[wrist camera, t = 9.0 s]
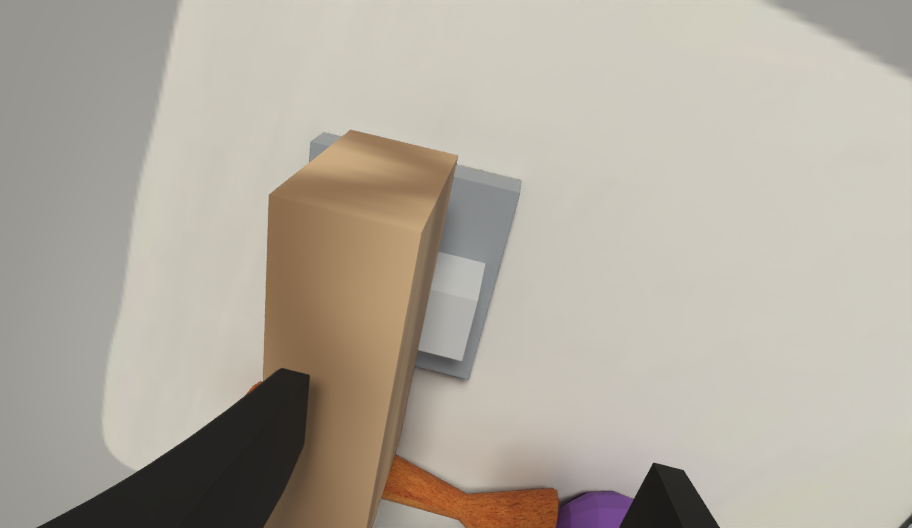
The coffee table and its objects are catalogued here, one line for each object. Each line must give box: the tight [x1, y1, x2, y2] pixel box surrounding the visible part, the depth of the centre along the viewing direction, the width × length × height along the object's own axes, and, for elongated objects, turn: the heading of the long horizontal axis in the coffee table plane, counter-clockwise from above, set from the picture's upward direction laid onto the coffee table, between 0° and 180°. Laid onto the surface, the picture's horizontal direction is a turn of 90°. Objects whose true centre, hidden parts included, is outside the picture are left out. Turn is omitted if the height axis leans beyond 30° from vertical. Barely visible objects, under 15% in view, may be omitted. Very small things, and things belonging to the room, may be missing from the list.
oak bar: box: [263, 130, 458, 528], centre depth 15 cm, size 3×11×5 cm, turn 168°
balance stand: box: [309, 133, 521, 379], centre depth 19 cm, size 7×8×4 cm
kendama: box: [246, 381, 634, 528], centre depth 23 cm, size 6×6×20 cm
